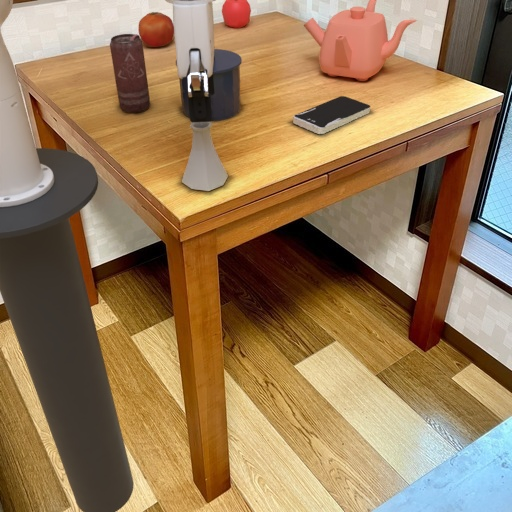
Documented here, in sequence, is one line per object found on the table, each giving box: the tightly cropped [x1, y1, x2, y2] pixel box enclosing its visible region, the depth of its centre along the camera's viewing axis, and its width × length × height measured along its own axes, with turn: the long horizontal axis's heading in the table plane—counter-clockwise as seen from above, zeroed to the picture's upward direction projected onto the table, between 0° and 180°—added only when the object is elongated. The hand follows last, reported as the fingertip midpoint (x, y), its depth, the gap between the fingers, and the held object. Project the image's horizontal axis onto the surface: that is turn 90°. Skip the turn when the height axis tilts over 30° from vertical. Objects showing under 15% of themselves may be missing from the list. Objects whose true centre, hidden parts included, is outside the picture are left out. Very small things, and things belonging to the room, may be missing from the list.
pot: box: [178, 65, 242, 122], centre depth 117 cm, size 12×12×10 cm
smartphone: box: [292, 95, 371, 135], centre depth 116 cm, size 8×1×15 cm
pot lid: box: [175, 48, 243, 74], centre depth 113 cm, size 13×13×5 cm
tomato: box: [138, 11, 175, 48], centre depth 150 cm, size 9×9×8 cm
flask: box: [181, 121, 229, 192], centre depth 94 cm, size 7×7×10 cm
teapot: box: [303, 0, 418, 82], centre depth 131 cm, size 18×18×14 cm
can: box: [109, 33, 151, 114], centre depth 117 cm, size 6×6×14 cm
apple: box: [221, 0, 252, 29], centre depth 162 cm, size 8×8×8 cm
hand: (203, 107), depth 90 cm, fingers open, 9 cm apart
